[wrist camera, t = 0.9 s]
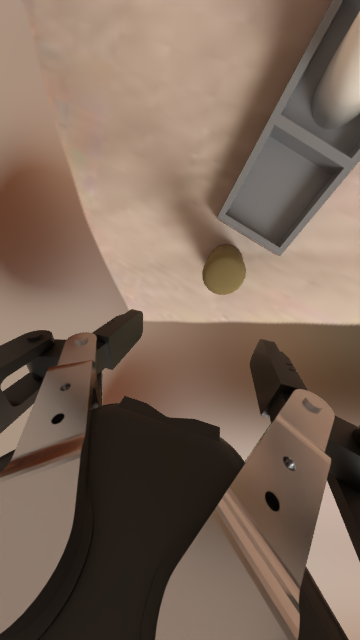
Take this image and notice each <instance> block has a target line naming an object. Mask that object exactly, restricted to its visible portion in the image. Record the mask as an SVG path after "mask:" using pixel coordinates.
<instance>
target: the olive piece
mask: <svg viewBox="0 0 360 640" xmlns="http://www.w3.org/2000/svg"><path fill="white" fill-rule="evenodd" d="M245 274H246V268H245V264H244V262H243V258H242V254H241V253H240V251H239V250H238V249H237V248H236V247H234V246H232V245H222V246H219V247H217V248H216V249H215V250H213V251H212V253H211V254H210V256H209V258H208V261H207V262H206V264H205V265H204V268H203V281H204V284H205V285H206V287H207V288H208V289H209V290H210V291H212V292H213V293H216V294H219V295H226V294H229V293H232V292H234V291H235V290H237V289H238V288H239V287H240V286H241V284H242V283H243V281H244V278H245Z"/></svg>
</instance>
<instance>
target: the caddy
mask: <svg viewBox="0 0 360 640" xmlns="http://www.w3.org/2000/svg"><path fill="white" fill-rule="evenodd" d="M359 11H360V0H332V2H331V4H330V5H329V7H328V9H327V11H326V13H325V15H324V17H323V19H322V21H321V22H320V24H319V26H318V28H317V30H316V32H315V34H314V36H313V38H312V39H311V41H310V43H309V45H308V47H307V49H306V51H305V53H304V55H303V56H302V58H301V60H300V62H299V64H298V66H297V68H296V70H295V72H294V73H293V75H292V77H291V79H290V81H289V83H288V85H287V87H286V88H285V90H284V92H283V94H282V96H281V98H280V100H279V102H278V104H277V105H276V107H275V109H274V111H273V113H272V115H271V117H270V119H269V121H268V122H267V124H266V126H265V128H264V130H263V132H262V134H261V136H260V138H259V139H258V141H257V143H256V145H255V147H254V149H253V151H252V153H251V155H250V156H249V158H248V160H247V162H246V164H245V166H244V168H243V170H242V172H241V173H240V175H239V177H238V179H237V181H236V183H235V185H234V187H233V189H232V190H231V192H230V194H229V196H228V198H227V200H226V202H225V204H224V206H223V207H222V209H221V211H220V213H219V215H218V217H217V218H218V220H220V221H221V222H223V223H225V224H226V225H228V226H229V227H231V228H233V229H234V230H236V231H238V232H239V233H241V234H243V235H244V236H246V237H247V238H249V239H251V240H252V241H254V242H256V243H257V244H259V245H260V246H262V247H264V248H265V249H267V250H269V251H270V252H272V253H274V254H276V255H279V256H281V254H282V253H283V252H284V251H285V250H286V248H287V247H288V246H289V245H290V244H291V242H292V241H293V240H294V239H295V238H296V236H297V235H298V234H299V233H300V232H301V230H302V229H303V228H304V227H305V226H306V224H307V223H308V222H309V221H310V220H311V218H312V217H313V216H314V215H315V214H316V212H317V211H318V210H319V209H320V208H321V206H322V205H323V204H324V203H325V202H326V200H327V199H328V198H329V197H330V196H331V194H332V193H333V192H334V191H335V190H336V188H337V187H338V186H339V185H340V184H341V182H342V181H343V180H344V179H345V178H346V176H347V175H348V174H349V173H350V172H351V170H352V169H353V168H354V167H355V166H356V164H357V163H358V162H359V161H360V114H359V115H358V116H357V117H355V118H354V119H353V120H352V121H350V122H349V123H347V124H346V125H344V126H342V127H339V128H336V129H323V128H321V127H319V126H318V125H317V124H316V122H315V121H314V118H313V114H312V101H313V96H314V93H315V90H316V87H317V85H318V82H319V81H320V79H321V77H322V75H323V73H324V72H325V70H326V68H327V66H328V65H329V63H330V61H331V60H332V58H333V56H334V54H335V53H336V51H337V49H338V48H339V46H340V44H341V42H342V41H343V39H344V37H345V36H346V34H347V32H348V30H349V29H350V27H351V25H352V23H353V22H354V20H355V18H356V17H357V15H358V13H359Z"/></svg>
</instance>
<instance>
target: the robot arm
mask: <svg viewBox="0 0 360 640" xmlns="http://www.w3.org/2000/svg"><path fill="white" fill-rule="evenodd" d="M142 332H143V313H142V312H141V311H137V310H133V309H131V310H130V311H128V312H127V313H125V314H122V315H119V316H116V317H115V318H113V319H112V320H111V321H109V322H107V324H104V325H103V326H102V327H100V328H99V329H97V330H96V331H94V332H93V333H87V332H86V333H78V334H75V335H72V336H71V337H69V338H68V339H67V340H55V339H54V338H53V335H52V333H51V332H50V331H46V330H38V331H33V332H29V333H26V334H24V335H21V336H19V337H17V338H16V339H13V340H12V341H9V342H7V343H5V344H3V345H1V346H0V385H1V383H2V381H3V380H4V379H5V378H6V377H7V376H9V375H10V374H12V373H13V372H15V371H17V370H18V369H19V368H21V367H22V366H24V365H27V367H28V369H29V371H30V373H28V374H27V375H25V376H24V377H23V378H21V379H20V380H18V381H17V382H16V383H14V384H13V385H11V386H10V387H9V388H7V389H6V390H4V391H3V392H2V390H1V389H0V433H1V432H2V431H4V430H5V429H6V428H7V427H8V426H9V425H10V424H11V423H13V422H14V421H15V420H16V419H17V418H18V417H19V416H20V415H21V414H22V413H24V412H25V411H26V410H27V409H28V408H29V407H30V406H31V405H32V404H34V405H33V408H32V410H31V412H30V415H29V417H28V420H27V423H26V425H25V427H24V430H23V433H22V435H21V437H20V440H19V442H18V445H17V447H16V449H15V450H13V451H11V452H9V453H7V454H6V455H4V456H2V457H0V640H348V638H347V636H346V634H345V633H344V631H343V629H342V627H341V626H340V624H339V622H338V621H337V619H336V617H335V615H334V614H333V612H332V610H331V609H330V607H329V605H328V603H327V602H326V600H325V599H324V597H323V595H322V593H321V591H320V590H319V588H318V586H317V585H316V583H315V581H314V579H313V578H312V576H311V574H310V573H309V571H308V569H307V567H306V563H307V559H308V555H309V551H310V546H311V542H312V538H313V534H314V530H315V526H316V521H317V518H318V514H319V510H320V505H321V501H322V497H323V493H324V489H325V485H326V481H328V483H329V486H330V488H331V491H332V493H333V496H334V498H335V501H336V503H337V506H338V508H339V510H340V513H341V516H342V518H343V521H344V523H345V526H346V528H347V531H348V533H349V536H350V538H351V541H352V544H353V546H354V549H355V551H356V554H357V556H358V558H359V561H360V425H359V426H358V427H357V426H355V425H353V424H351V423H349V422H347V421H345V420H343V419H341V418H339V417H337V416H335V415H334V413H333V411H332V409H331V408H330V407H329V405H328V404H327V403H326V402H325V401H324V400H322V399H321V398H320V397H318V396H317V395H315V394H313V393H311V392H309V391H308V390H307V388H306V387H305V385H304V383H303V381H302V380H301V378H300V376H299V375H298V373H297V372H296V369H295V368H294V366H293V364H292V363H291V361H290V359H289V358H288V357H287V356H286V355H285V354H284V353H283V352H280V351H279V349H278V348H277V346H276V344H275V342H272V341H268V340H264V339H260V340H259V342H258V344H257V346H256V348H255V350H254V353H253V355H252V357H251V361H250V369H251V374H252V378H253V382H254V387H255V391H256V396H257V400H258V405H259V409H260V414H261V416H264V417H267V418H270V420H271V424H270V425H269V427H268V428H267V430H266V431H265V433H264V434H263V436H262V437H261V438H260V440H259V442H258V443H257V444H256V446H255V447H254V449H253V450H252V452H251V453H250V454H249V456H248V457H247V459H246V460H245V462H244V460H243V459H242V458H241V456H240V455H239V454H238V453H237V452H236V450H235V449H234V448H233V447H232V446H231V445H229V444H228V443H227V442H226V441H225V440H224V439H222V438H220V428H219V427H217V426H214V425H211V424H208V423H205V422H202V421H199V420H195V419H184V418H169V417H166V416H165V415H163V414H162V413H160V412H159V411H157V410H156V409H154V408H153V407H151V406H150V405H148V404H147V403H144V402H141V401H138V400H135V399H132V398H129V397H126V396H124V398H123V399H122V401H121V403H115V404H107V405H102V377H103V374H102V370H103V369H104V368H108V369H111V370H113V369H114V368H115V367H116V365H117V364H118V363H119V362H120V361H121V359H123V357H124V356H125V355H126V354H127V353H128V352H129V351H130V349H131V348H132V347H133V346H134V345H135V344H136V343H137V341H138V340H139V339H140V338H141V336H142Z"/></svg>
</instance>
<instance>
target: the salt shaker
mask: <svg viewBox="0 0 360 640" xmlns="http://www.w3.org/2000/svg"><path fill="white" fill-rule="evenodd" d="M312 114H313V118H314V121H315V122H316V124H317V125H318V126H319V127H321V128H323V129H336V128H339V127H342V126H344V125H346V124H347V123H349V122H350V121H352V120H353V119H354V118H355V117H357V116H358V115H359V114H360V11H359V13H358V15H357V17H356V18H355V20H354V22H353V23H352V25H351V27H350V29H349V30H348V32H347V34H346V36H345V37H344V39H343V41H342V42H341V44H340V46H339V48H338V49H337V51H336V53H335V54H334V56H333V58H332V60H331V61H330V63H329V65H328V66H327V68H326V70H325V72H324V73H323V75H322V77H321V79H320V81H319V82H318V85H317V87H316V90H315V93H314V96H313V101H312Z"/></svg>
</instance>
